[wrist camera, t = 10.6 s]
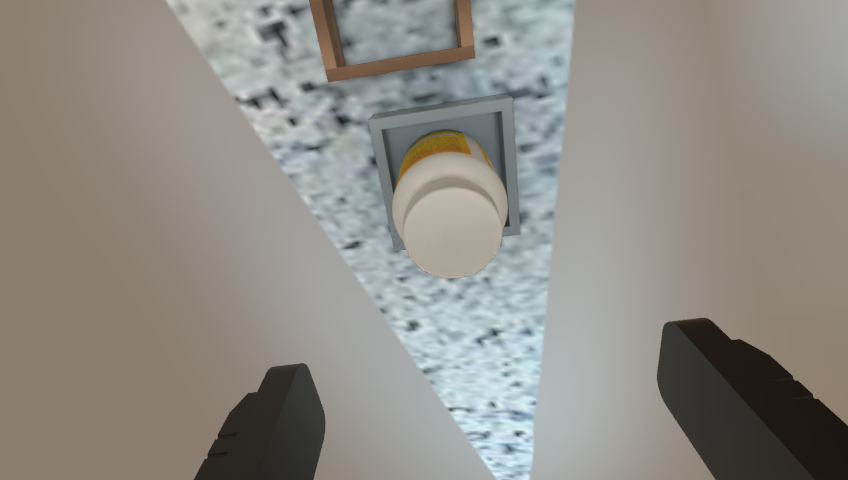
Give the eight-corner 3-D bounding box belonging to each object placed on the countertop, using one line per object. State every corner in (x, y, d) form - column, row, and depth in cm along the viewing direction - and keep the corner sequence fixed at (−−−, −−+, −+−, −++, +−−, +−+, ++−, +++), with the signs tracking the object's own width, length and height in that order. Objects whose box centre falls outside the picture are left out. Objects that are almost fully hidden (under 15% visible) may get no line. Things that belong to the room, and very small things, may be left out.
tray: (373, 114, 24) (368, 120, 22) (505, 93, 24) (512, 97, 22) (396, 236, 27) (394, 250, 25) (513, 220, 27) (520, 234, 25)
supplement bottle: (505, 156, 24) (550, 214, 16) (457, 227, 26) (473, 314, 18) (428, 109, 23) (430, 143, 15) (384, 186, 25) (362, 257, 17)
